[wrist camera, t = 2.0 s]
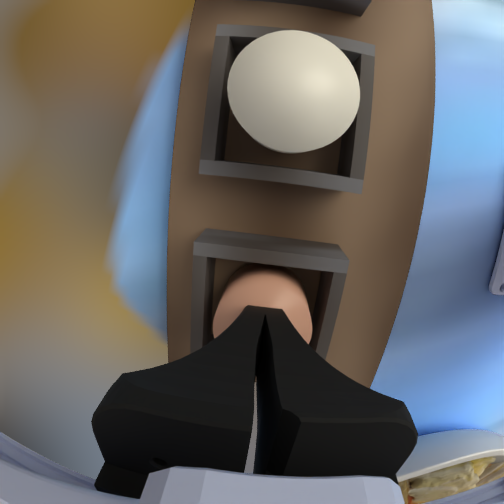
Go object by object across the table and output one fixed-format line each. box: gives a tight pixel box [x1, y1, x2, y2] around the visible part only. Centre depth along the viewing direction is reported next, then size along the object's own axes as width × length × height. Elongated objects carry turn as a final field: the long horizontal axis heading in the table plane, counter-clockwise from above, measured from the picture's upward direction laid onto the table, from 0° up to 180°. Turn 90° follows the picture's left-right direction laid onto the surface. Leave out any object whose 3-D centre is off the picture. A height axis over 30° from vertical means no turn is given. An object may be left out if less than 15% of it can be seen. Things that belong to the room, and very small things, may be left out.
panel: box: [167, 0, 435, 389], centre depth 11 cm, size 11×26×3 cm, turn 174°
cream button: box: [227, 30, 360, 154], centre depth 9 cm, size 4×4×2 cm
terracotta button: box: [213, 263, 312, 344], centre depth 12 cm, size 4×4×2 cm
